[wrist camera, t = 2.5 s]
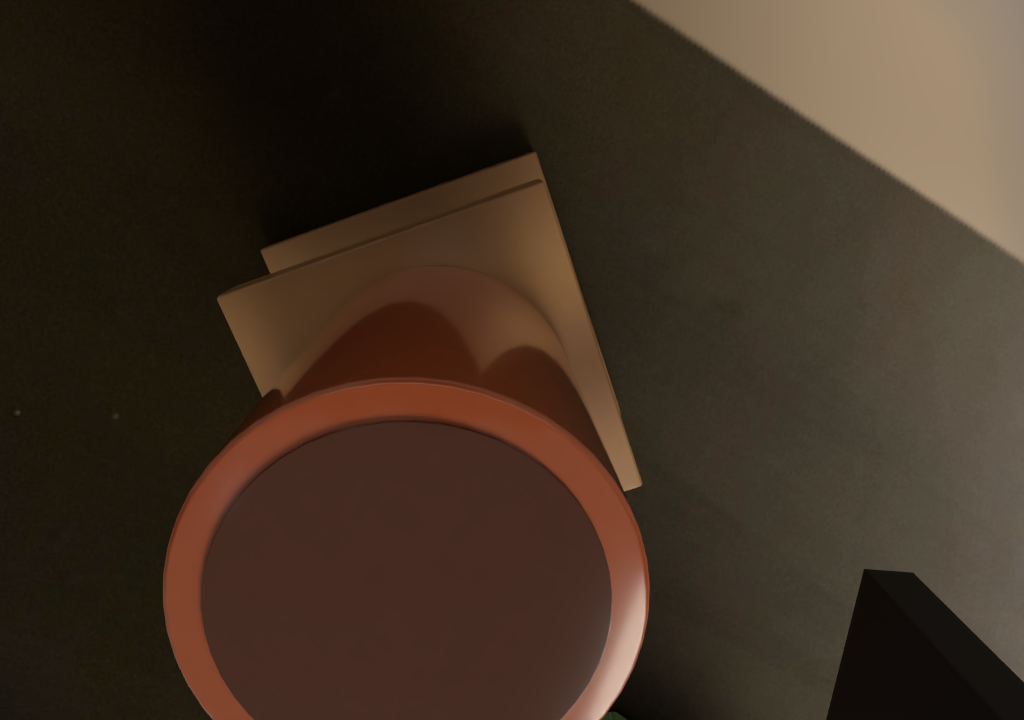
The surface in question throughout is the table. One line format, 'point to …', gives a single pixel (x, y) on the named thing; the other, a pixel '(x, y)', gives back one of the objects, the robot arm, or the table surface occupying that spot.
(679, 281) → the table surface
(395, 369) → the cup
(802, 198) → the table surface
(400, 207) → the stand
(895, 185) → the table surface
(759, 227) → the table surface
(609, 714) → the ink box
